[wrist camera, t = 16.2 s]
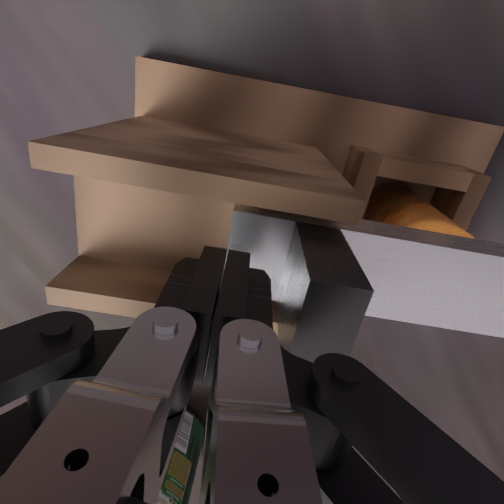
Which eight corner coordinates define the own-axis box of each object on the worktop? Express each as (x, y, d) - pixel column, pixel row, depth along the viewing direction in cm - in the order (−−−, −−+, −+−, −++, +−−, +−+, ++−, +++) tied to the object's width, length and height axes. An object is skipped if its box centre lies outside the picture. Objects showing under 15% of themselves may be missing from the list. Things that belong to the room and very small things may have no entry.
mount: (495, 125, 20) (747, 165, 10) (418, 289, 26) (528, 432, 15) (141, 57, 19) (-6, 19, 9) (137, 243, 25) (42, 360, 14)
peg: (372, 175, 21) (426, 224, 14) (426, 190, 21) (506, 245, 14) (350, 226, 22) (388, 294, 15) (400, 240, 23) (460, 312, 16)
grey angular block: (528, 248, 14) (684, 342, 9) (488, 315, 15) (601, 428, 10) (236, 197, 13) (219, 265, 8) (224, 272, 14) (204, 369, 9)
